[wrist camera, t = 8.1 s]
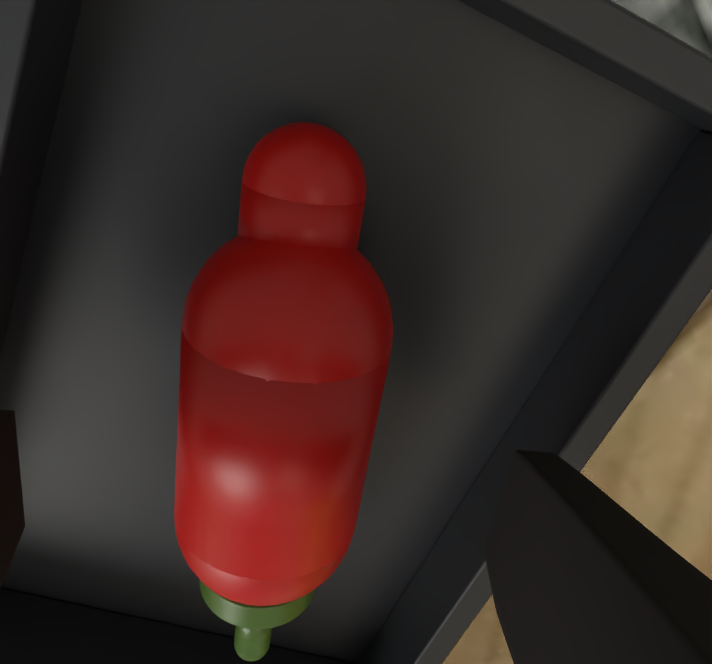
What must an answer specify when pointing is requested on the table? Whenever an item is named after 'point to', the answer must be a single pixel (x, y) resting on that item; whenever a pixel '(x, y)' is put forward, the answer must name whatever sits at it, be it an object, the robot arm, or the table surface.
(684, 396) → the table surface
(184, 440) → the chili
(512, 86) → the tray
